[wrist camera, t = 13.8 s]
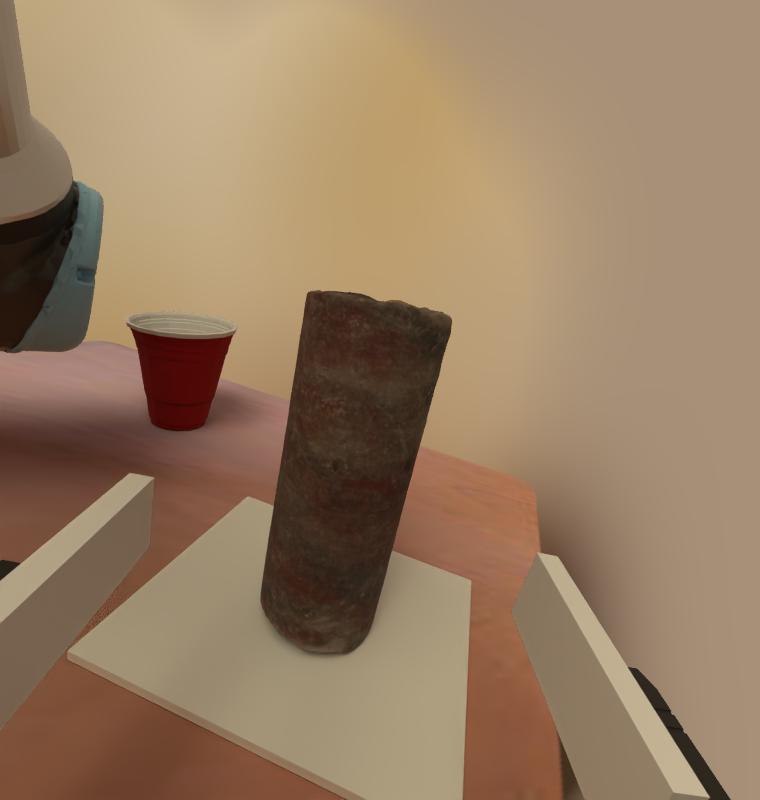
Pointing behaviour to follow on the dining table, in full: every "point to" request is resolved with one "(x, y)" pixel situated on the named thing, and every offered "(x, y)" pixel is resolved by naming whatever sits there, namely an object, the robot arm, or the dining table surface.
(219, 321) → the plastic cup
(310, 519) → the brown rough cylinder
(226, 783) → the dining table surface
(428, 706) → the mat
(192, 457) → the dining table surface
